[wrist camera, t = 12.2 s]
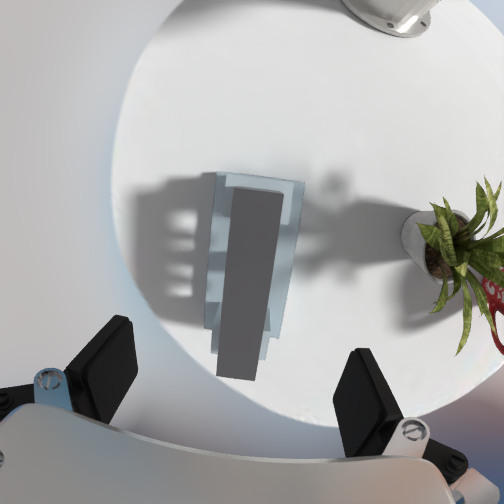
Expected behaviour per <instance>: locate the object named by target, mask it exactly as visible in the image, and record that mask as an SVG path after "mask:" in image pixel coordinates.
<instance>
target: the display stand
mask: <svg viewBox="0 0 504 504" xmlns="http://www.w3.org/2000/svg"><path fill="white" fill-rule="evenodd" d="M238 186H243V187H252V188H260V189H267V190H275V191H280V192H282V193H284V199H283V206H282V213H281V220H280V227H279V234H278V241H277V248H276V255H275V261H274V268H273V274H272V281H271V287H270V294H269V300H268V306H267V312H266V318H265V324H264V330H263V336H262V342H261V348H260V354H259V360H265V359H266V354H267V348H268V343H269V338H270V337H273V338H279V335H280V330H281V325H282V320H283V315H284V310H285V305H286V299H287V294H288V288H289V283H290V277H291V271H292V266H293V260H294V254H295V248H296V242H297V235H298V229H299V222H300V216H301V209H302V202H303V195H304V188H305V182H299V181H292V180H285V179H278V178H271V177H263V176H255V175H247V174H238V173H228V172H218V171H217V176H216V185H215V194H214V204H213V213H212V224H211V234H210V246H209V258H208V271H207V284H206V299H205V316H204V328H205V329H211V330H212V341H211V353H212V354H218V346H219V333H220V321H221V309H222V298H223V287H224V277H225V266H226V256H227V246H228V237H229V227H230V218H231V209H232V200H233V191H234V187H238Z"/></svg>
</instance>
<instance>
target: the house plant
mask: <svg viewBox="0 0 504 504" xmlns="http://www.w3.org/2000/svg"><path fill="white" fill-rule="evenodd" d="M484 177H485V175H484ZM501 182H502V181H501ZM485 184H486V188H487V194H488V198H487V195H486V194H485V192H484V190H483V188H482V187H481V186H480V185H479V183H478V182H477V187H476V205H477V213H476V215H475V216H474V217H473V218H472V220H471V221H470V220H469V218H468V217H467V216H466V215H465V214H464V213H462V212H461V211H457V210H451V209H450V206H449V204H448V202H447V200H446V199H445V198H444V197H443V200H444V203H445V207H446V208H443V207H440V206H437V205H436V204H435V205H434V204H432V203H430V202H429V203H430V204H431V205H432V206H433V208H434V211H421V212H416V213H414V214H412V215H411V216H409V217H408V218H407V220H406V221H405V223H404V225H403V228H402V233H401V242H402V245H403V248H404V249H405V251H406V252H407V253H408V254H409V255H410V257H411V258H412V259H413V260H414V261H415V262H416V263H417V264H418V265H419V266H420V268H421V269H422V270H423V271H424V272H425V273H426V274H427V275H428V277H429V278H430V279H431V280H432V281H434V282H436V283H438V284H443V285H442V289H441V293H440V296H439V299H438V301H437V302H435V303H437V305H436V307H435V308H434V310H433V311H432V312H430V313H434V312H439V311H440V310H441V309H442V308H443V307H444V305H445V304H446V301H447V300H449V299H451V298H452V297H454V296H455V294H456V293H457V292H458V291H459V289H460V288H461V284H462V286H463V293H464V308H463V322H464V327H463V334H462V337H461V340H460V343H459V347H458V350H457V353H456V355H457V354H458V353H459V352H460V350H461V349H462V348H463V346H464V345H465V343H466V341H467V338H468V336H469V332H470V328H471V318H472V302H471V297H470V294H469V291H468V287H467V283H466V279H467V280H468V281H469V283H470V285H471V286H472V288H473V290H474V292H475V295H476V298H477V302H478V305H479V309H480V312H481V316H482V314H483V313H484V314H485V316H486V318H487V320H488V322H489V324H490V326H491V328H492V330H493V332H494V333H495V335H496V330H495V327H494V324H493V319H492V316H491V313H490V311H489V309H488V307H487V296H486V294H485V292H484V290H483V288H482V286H481V284H480V283H479V281H478V280H477V278H476V277H475V276H474V275H473V273H472V272H471V271H470V270H469V269H468V267H469V266H471V267H472V268H474V269H475V270H476V271H477V272H479V273H480V274H481V275H482V276H484V277H485V278H487V279H488V280H490V281H492V282H494V283H496V284H497V285H499V286H500V287H502V288H503V289H504V272H503V271H501V270H500V266H501V267H503V268H504V235H503V236H500V237H498V238H496V237H497V236H499V235H501V234H503V233H504V228H502V229H501V230H499V231H498V232H497V233H495V234H493V235H491V236H490V237H487V238H485V239H483V238H484V237H483V238H481V239H480V240H476V237H475V234H477V233H478V232H480V230H481V229H482V228H483V227H484V226H485V224H486V222H485V223H484V224H483V225H482V226H481V227H480V228H479V229H478V230H476V231H474V230H475V229H476V228H477V227H478V226H479V224H480V223H481V222H482V219H483V217H484V215H485V212H487V211H488V217H489V214H490V219H491V220H490V226H489V229H488V231H487V233H488V232H489V231H490V229H491V228H492V226H493V225H494V223H495V221H496V218H497V212H498V209H497V205H496V200H497V198H498V195H499V193H500V189H501V183H500V185H499V187H498V189H497V191H496V193H495V195H494V196H493V192H492V189H491V187H490V184H489V183H488V181H487V180H486V178H485ZM488 199H489V201H488ZM488 217H487V219H488ZM486 221H487V220H486ZM487 233H486V234H487ZM486 234H485V235H486ZM494 238H495V239H494ZM498 268H499V269H498ZM453 282H454V291H453V293H452V295H451V296H449V297H447V296H448V284H449V283H453ZM433 304H434V303H433ZM496 337H497V335H496ZM456 355H455V356H456ZM455 356H454V357H455Z"/></svg>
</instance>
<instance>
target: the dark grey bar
mask: <svg viewBox="0 0 504 504" xmlns="http://www.w3.org/2000/svg"><path fill="white" fill-rule="evenodd" d="M283 199H284V193H282V192H280V191H275V190H267V189H260V188H252V187H243V186H238V187H234V191H233V200H232V209H231V218H230V227H229V237H228V246H227V256H226V266H225V277H224V287H223V298H222V309H221V321H220V333H219V346H218V359H217V373H216V376H220V377H227V378H234V379H242V380H251V381H255V376H256V371H257V365H258V360H259V354H260V348H261V342H262V336H263V330H264V324H265V318H266V312H267V306H268V300H269V294H270V287H271V281H272V274H273V268H274V261H275V255H276V248H277V241H278V234H279V227H280V220H281V213H282V206H283Z"/></svg>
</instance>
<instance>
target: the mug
mask: <svg viewBox="0 0 504 504" xmlns="http://www.w3.org/2000/svg"><path fill="white" fill-rule="evenodd" d="M498 269H499V268H498ZM500 270H501V271H503V272H504V268H503V267H501V266H500ZM482 288H483V290H484V292H485V294H486V296H487V303H489V311H490V313H491V316H492V319H493V324H494V327H495V330H496V335H497V329H496V321H495V314H496V311H499V312H500V313H502V314H503V315H504V289H503V288H502V287H500V286H499V285H497V284H496V283H494V282H492V281H490V280H488V279H487V278H485V277H484V278H483V282H482ZM490 327H491V326H490ZM491 332H492V337H493V340H494V343H495V345H496V347H497V348H498V350H499V351H500V352H501V353H502V354H503V355H504V346H503V345H502V343H501V342H500V340H499V338H498V335H497V337H496V335H495V333H494V332H493V330H492V328H491Z"/></svg>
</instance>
